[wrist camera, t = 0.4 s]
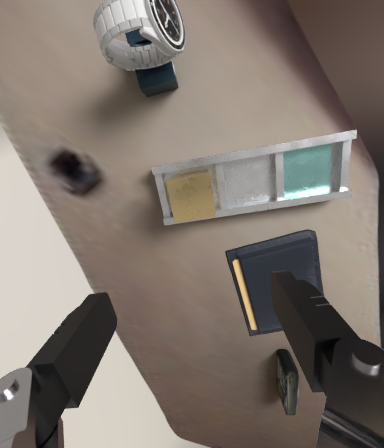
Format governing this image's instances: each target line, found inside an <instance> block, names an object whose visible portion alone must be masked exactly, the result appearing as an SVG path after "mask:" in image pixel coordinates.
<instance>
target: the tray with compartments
mask: <svg viewBox="0 0 384 448" xmlns="http://www.w3.org/2000/svg"><path fill="white" fill-rule="evenodd" d="M356 134H357V130H352V131H346V132H340V133H334V134H329V135H324V136H318V137H313V138H307V139H302V140H296V141H291V142H285V143H280V144H274V145H269V146H263V147H258V148H252V149H247V150H241V151H236V152H230V153H225V154H219V155H214V156H208V157H203V158H197V159H192V160H186V161H181V162H175V163H170V164H164V165H159V166H154V167H151V169H152V173H153V175H154V176H155V180H156V185H157V189H158V193H159V198H160V202H161V207H162V211H163V215H164V218H163V221H164V225H172V224H178V223H175V222H174V217H173V213H172V208H171V203H170V198H169V194H168V189H167V184H166V181H167V180H168V179H170V178H171V177H172V176H174V175H179V174H184V173H190V172H196V171H202V170H207V169H208V170H209V172H210V175H211V182H212V189H213V196H214V204H215V211H216V217H212V218H217V217H224V216H230V215H237V214H243V213H250V212H256V211H263V210H269V209H276V208H282V207H289V206H296V205H302V204H309V203H315V202H322V201H328V200H335V199H341V198H348V197H351V195H352V190H351V189H348V179H349V166H350V152H351V139H356ZM205 219H211V218H205ZM199 220H204V219H199ZM192 221H198V220H192ZM186 222H191V221H186ZM179 223H185V222H179Z"/></svg>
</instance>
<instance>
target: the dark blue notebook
mask: <svg viewBox="0 0 384 448" xmlns="http://www.w3.org/2000/svg"><path fill="white" fill-rule="evenodd" d="M226 256H227V260H228V263H229V266H230V269H231V272H232V275H233V279H234V282H235V286H236V289H237V293H238V296H239V299H240V303H241V306H242V310H243V313H244V317H245V320H246V323H247V327H248V330H249V334H250V336H254V335H259V334H267V333H273V332H278V331H284V330H283V328H282V326H281V324H280V322H279V320H278V318H277V316H276V314H275V311H274V308H273V304H272V296H271V277H270V275H271V272H274V271H282V270H289V271H290V272H291V273H292V275H293V276H294V277H295V278H296V280H305V281H307V282H309V283H310V284H312V285H314V286H315V287H316V288H317V289H318V290H319V292H320V293H321V294H322V295H323V297H324V293H323V286H322V280H321V271H320V262H319V253H318V242H317V237H316V233H315V231H312V230H303V231H299V232H295V233H291V234H287V235H284V236H280V237H277V238H273V239H270V240H266V241H262V242H258V243H254V244H250V245H246V246H242V247H239V248H235V249H232V250H228V251H226Z"/></svg>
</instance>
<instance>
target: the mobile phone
mask: <svg viewBox="0 0 384 448" xmlns="http://www.w3.org/2000/svg"><path fill="white" fill-rule="evenodd" d="M277 361H278V376H277V388H278V392H279V395H280V398H281V401H282V404H283V407H284V410H285V413H286V415H295V414H296V409H297V405H298V401H299V389H298V388H299V375H298V370H297V368H296V365H295V363H294V361H293V358H292V356H291V354H290V352H289V351H287V350H285V349H279V350H278V351H277Z"/></svg>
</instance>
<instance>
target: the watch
mask: <svg viewBox="0 0 384 448" xmlns="http://www.w3.org/2000/svg"><path fill="white" fill-rule="evenodd" d="M122 9H123V10H122ZM93 24H94V28H95V31H96V35H97V38H98V41H99V45H100V48H101V51H102V54H103V56H104V57H105V59H106V60H107V62H108V63H110V64H112V65H114V66H116V67H119V68H122V69H125V70H127V71H135V70H136V74H137V78H138V81H139V85H140V89H141V91H142V92H143V93H144V94H145V95H146V96H147V97H149V96H152V95H156V94H159V93H163V92H166V91H170V90H173V89H176V88H178V84H177V79H176V74H175V70H174V65H173V61H172V60H173V59H174V58H176V56H178V55H179V54H180V53H181V52H183V48H184V45H185V30H184V25H183V21H182V17H181V14H180V11H179V8H178V6H177V4H176V1H175V0H103V1H102V3H100V5H99V6H98V8H97V10H96V12H95V15H94V21H93ZM130 26H131V27H130ZM131 29H132V30H134V31H131ZM135 29H137V30H135ZM128 31H131V32H128ZM125 32H128V33H125ZM121 33H125V34H126V38H127V41H128V43H125V42H122V41H119V40H117V39H115V37H117V36H119V35H121Z"/></svg>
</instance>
